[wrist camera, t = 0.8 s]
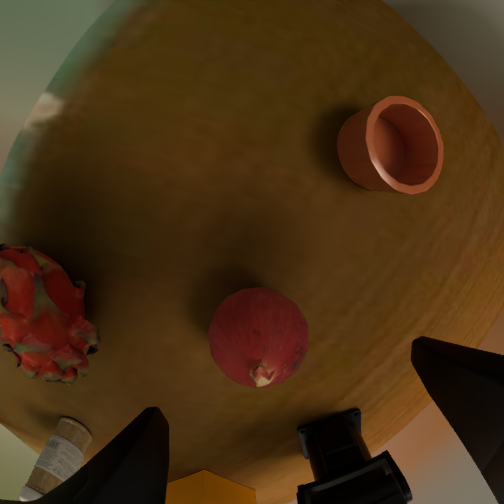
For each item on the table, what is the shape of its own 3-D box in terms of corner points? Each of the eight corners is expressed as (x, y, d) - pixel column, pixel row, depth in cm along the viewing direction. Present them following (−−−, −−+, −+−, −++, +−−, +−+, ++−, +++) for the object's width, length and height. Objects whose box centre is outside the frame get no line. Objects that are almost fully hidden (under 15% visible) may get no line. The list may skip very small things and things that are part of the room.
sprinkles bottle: (69, 436, 22) (33, 512, 9) (54, 411, 21) (9, 491, 8) (98, 444, 23) (67, 529, 10) (85, 420, 22) (43, 511, 9)
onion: (305, 283, 19) (347, 343, 11) (279, 350, 20) (300, 427, 13) (224, 261, 18) (219, 316, 11) (204, 334, 20) (192, 411, 12)
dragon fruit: (114, 349, 21) (43, 241, 20) (142, 334, 16) (47, 186, 15) (49, 406, 15) (-25, 285, 14) (45, 419, 9) (-52, 241, 8)
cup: (412, 183, 18) (450, 186, 14) (347, 197, 18) (378, 202, 14) (395, 109, 17) (430, 96, 12) (327, 115, 17) (353, 97, 12)
